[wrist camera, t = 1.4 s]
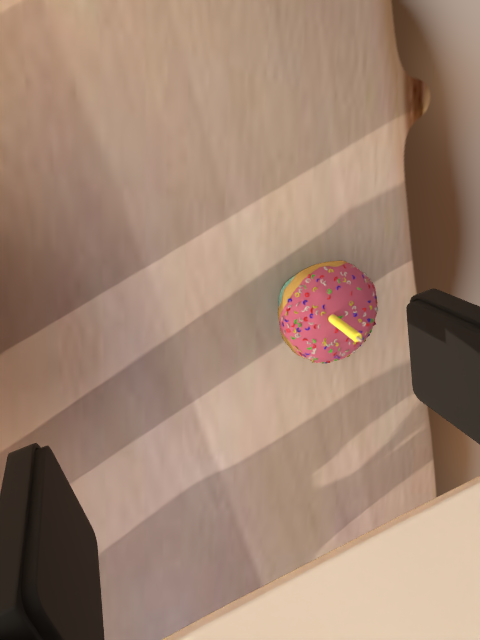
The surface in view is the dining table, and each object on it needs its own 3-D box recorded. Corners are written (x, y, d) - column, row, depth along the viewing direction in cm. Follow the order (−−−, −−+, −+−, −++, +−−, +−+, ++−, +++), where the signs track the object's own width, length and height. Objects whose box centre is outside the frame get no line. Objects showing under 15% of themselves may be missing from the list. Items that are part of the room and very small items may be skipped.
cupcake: (245, 330, 40) (309, 394, 30) (279, 237, 39) (359, 270, 28) (325, 349, 44) (407, 412, 33) (359, 264, 42) (457, 303, 31)
